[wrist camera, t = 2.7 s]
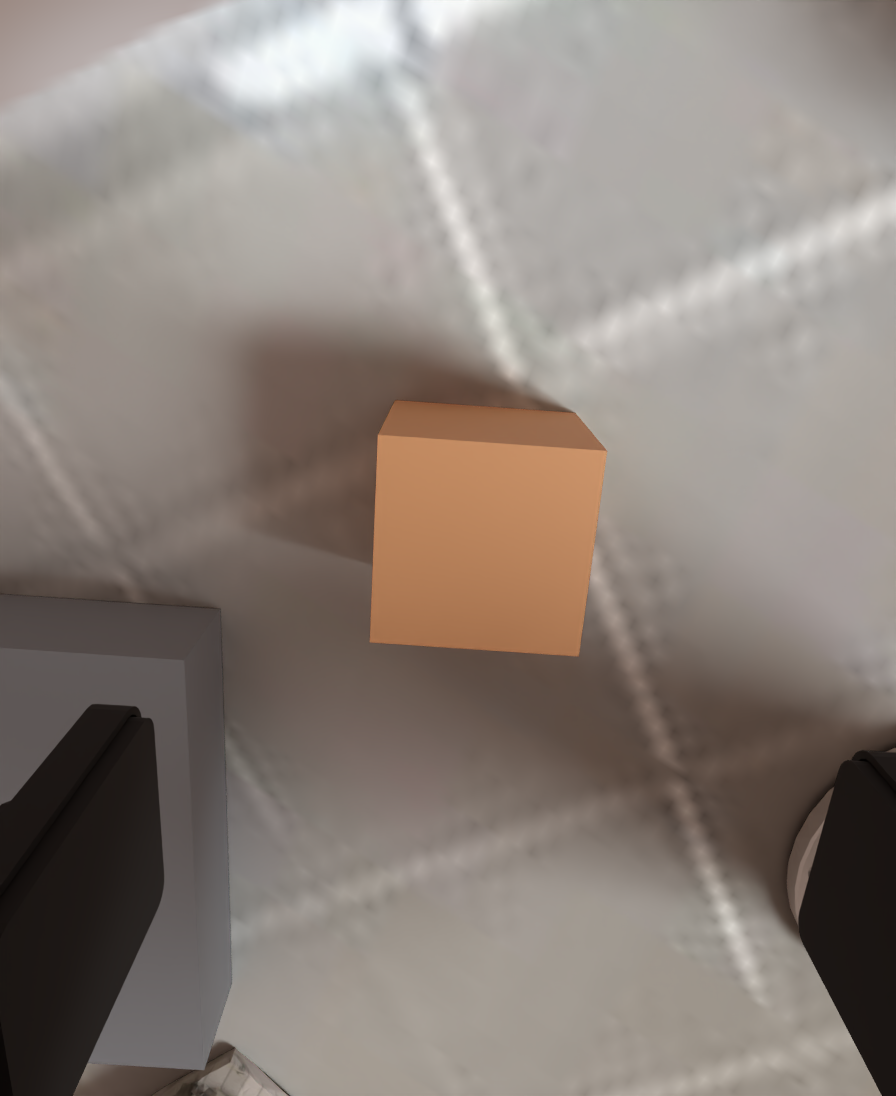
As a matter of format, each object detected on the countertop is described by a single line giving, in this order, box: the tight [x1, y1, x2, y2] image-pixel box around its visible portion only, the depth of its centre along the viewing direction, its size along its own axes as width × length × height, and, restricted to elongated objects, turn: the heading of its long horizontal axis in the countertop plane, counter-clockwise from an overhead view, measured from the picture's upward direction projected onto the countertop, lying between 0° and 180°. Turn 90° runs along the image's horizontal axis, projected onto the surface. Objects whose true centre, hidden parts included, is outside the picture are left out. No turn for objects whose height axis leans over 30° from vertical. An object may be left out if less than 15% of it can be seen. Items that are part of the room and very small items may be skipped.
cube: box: [370, 400, 607, 656], centre depth 24 cm, size 6×6×6 cm
